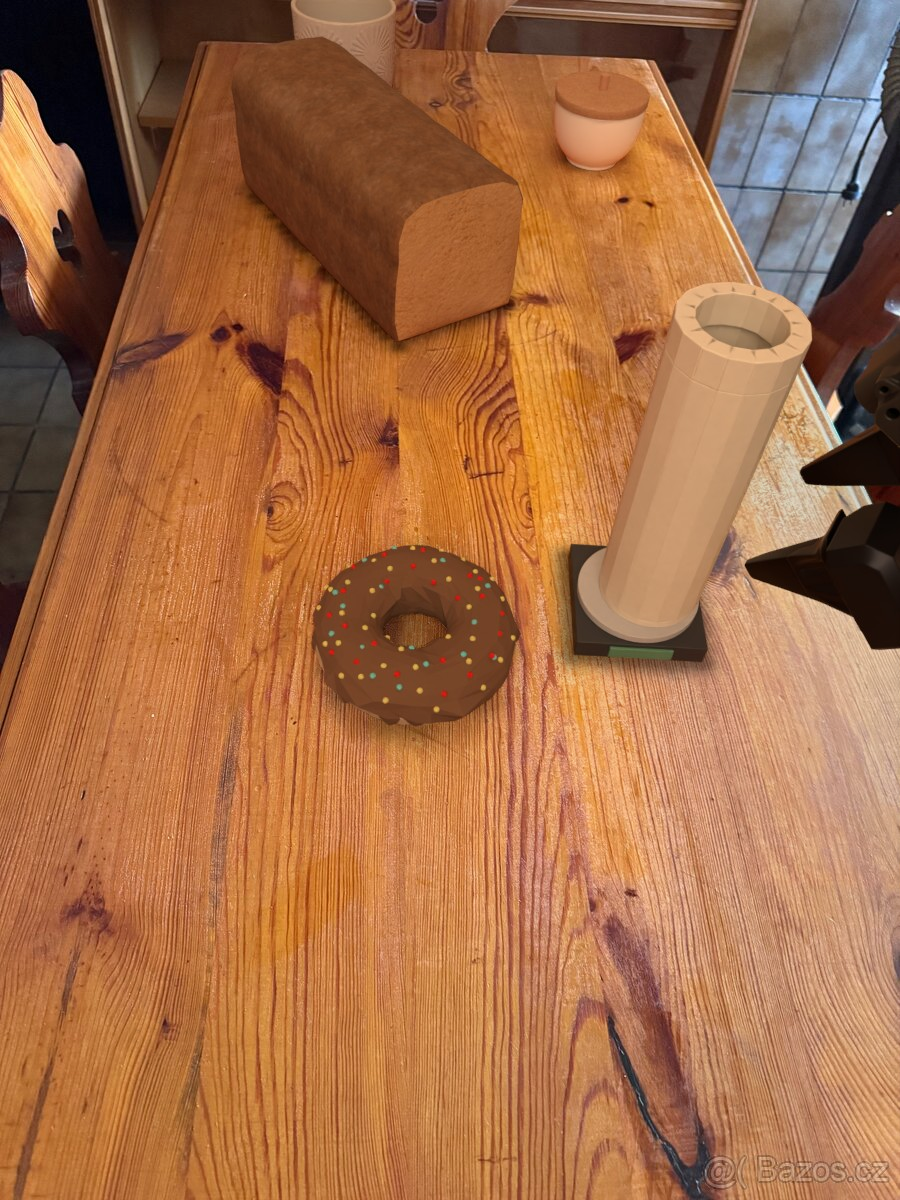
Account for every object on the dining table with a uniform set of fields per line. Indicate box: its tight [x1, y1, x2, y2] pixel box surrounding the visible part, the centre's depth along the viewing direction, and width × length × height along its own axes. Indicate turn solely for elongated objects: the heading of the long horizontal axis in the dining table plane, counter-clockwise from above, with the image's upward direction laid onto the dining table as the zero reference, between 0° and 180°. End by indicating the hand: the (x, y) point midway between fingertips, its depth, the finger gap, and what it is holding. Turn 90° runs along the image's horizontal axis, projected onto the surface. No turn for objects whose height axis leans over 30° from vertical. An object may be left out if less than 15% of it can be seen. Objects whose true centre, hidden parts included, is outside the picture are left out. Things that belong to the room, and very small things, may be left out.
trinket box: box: [553, 70, 651, 172], centre depth 103 cm, size 11×11×9 cm
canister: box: [599, 281, 813, 627], centre depth 54 cm, size 7×7×22 cm
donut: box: [311, 542, 522, 727], centre depth 59 cm, size 14×14×5 cm
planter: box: [290, 0, 397, 88], centre depth 109 cm, size 12×12×11 cm
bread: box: [230, 37, 524, 342], centre depth 87 cm, size 14×34×14 cm, turn 33°
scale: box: [567, 543, 709, 663], centre depth 64 cm, size 9×9×2 cm
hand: (776, 520), depth 52 cm, fingers open, 9 cm apart
